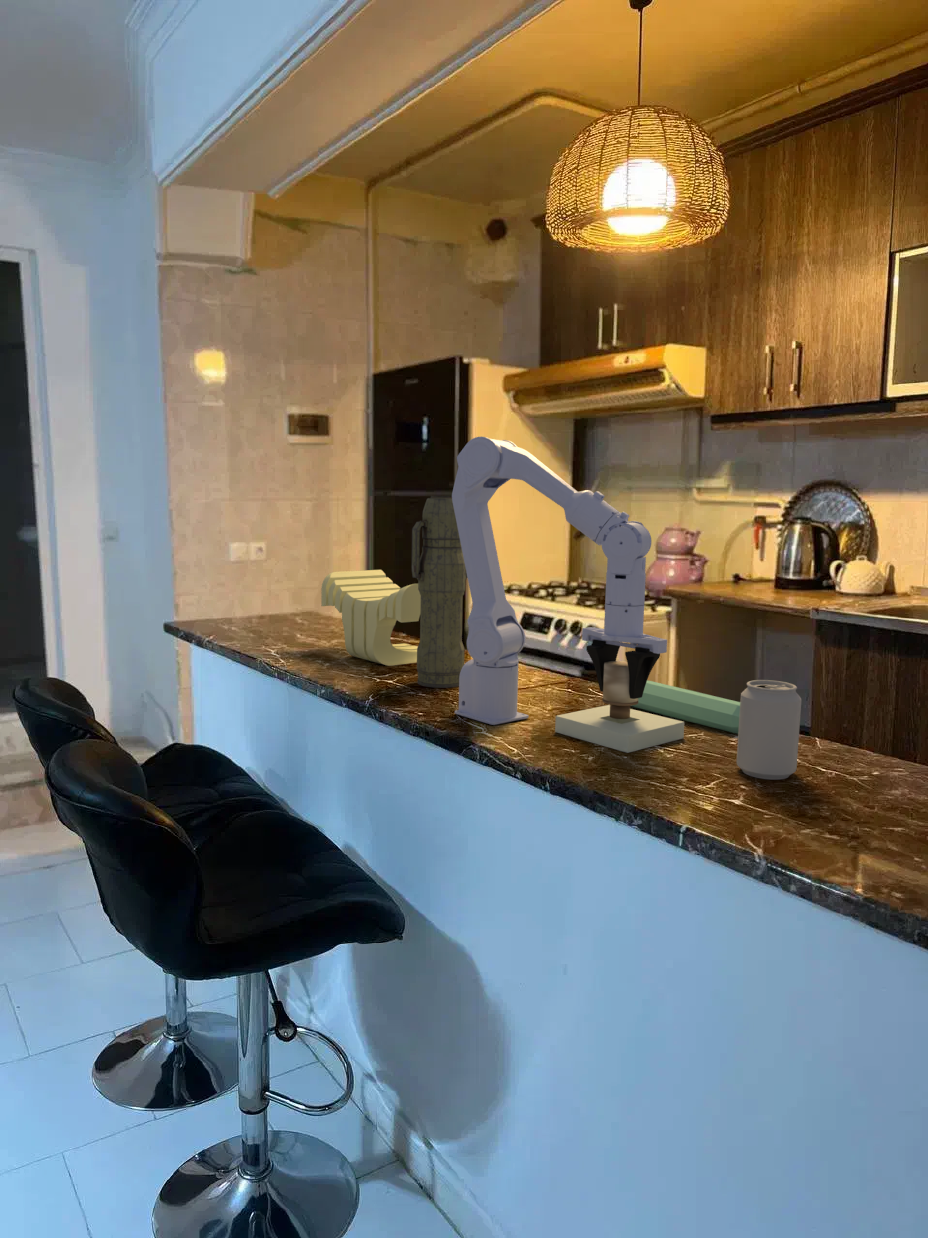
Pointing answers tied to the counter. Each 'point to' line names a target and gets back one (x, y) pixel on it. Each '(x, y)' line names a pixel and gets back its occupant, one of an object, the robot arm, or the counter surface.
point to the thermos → (439, 594)
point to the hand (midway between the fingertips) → (620, 694)
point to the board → (619, 728)
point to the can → (769, 729)
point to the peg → (617, 689)
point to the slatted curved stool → (372, 613)
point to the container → (690, 706)
